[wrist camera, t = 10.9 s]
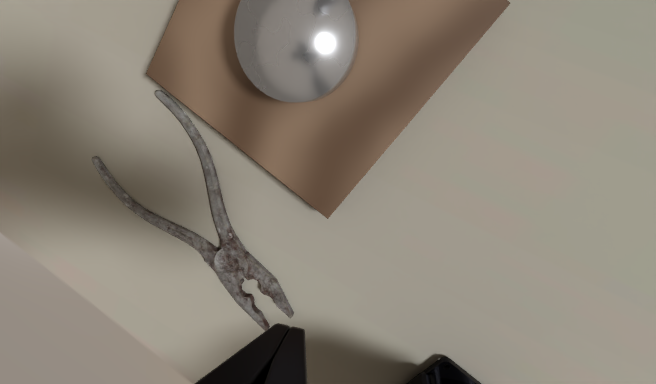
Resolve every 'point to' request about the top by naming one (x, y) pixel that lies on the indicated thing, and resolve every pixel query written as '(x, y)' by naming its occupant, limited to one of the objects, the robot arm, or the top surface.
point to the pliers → (233, 255)
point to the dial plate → (333, 110)
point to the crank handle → (296, 46)
